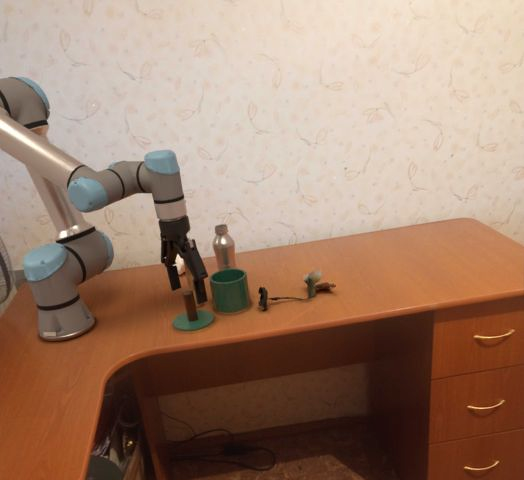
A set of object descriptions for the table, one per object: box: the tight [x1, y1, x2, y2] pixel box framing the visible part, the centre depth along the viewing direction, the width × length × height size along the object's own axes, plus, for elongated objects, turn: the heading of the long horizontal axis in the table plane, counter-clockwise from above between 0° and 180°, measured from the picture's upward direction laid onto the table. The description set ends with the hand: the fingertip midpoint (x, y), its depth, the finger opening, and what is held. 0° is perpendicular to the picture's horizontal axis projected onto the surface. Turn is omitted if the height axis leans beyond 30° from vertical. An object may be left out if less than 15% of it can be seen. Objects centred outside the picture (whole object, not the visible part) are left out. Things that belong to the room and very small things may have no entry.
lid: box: [172, 290, 215, 332], centre depth 144 cm, size 11×11×9 cm
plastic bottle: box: [211, 223, 238, 271], centre depth 158 cm, size 6×7×20 cm
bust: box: [173, 254, 186, 276], centre depth 179 cm, size 12×8×11 cm
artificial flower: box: [257, 268, 337, 311], centre depth 150 cm, size 9×22×10 cm, turn 106°
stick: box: [183, 237, 203, 307], centre depth 151 cm, size 3×3×20 cm
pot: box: [208, 268, 251, 314], centre depth 150 cm, size 10×10×10 cm
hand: (189, 295), depth 142 cm, fingers open, 13 cm apart
